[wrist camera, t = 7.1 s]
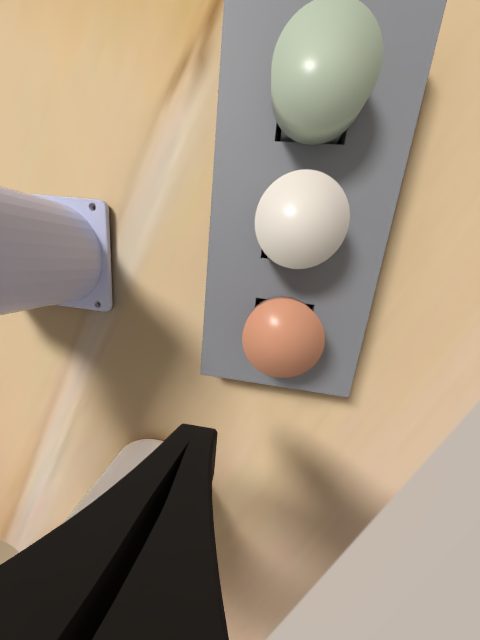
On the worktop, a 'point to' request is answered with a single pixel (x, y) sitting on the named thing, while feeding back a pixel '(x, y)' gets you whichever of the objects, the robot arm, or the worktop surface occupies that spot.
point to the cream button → (302, 219)
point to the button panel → (332, 159)
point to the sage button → (324, 70)
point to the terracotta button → (283, 337)
